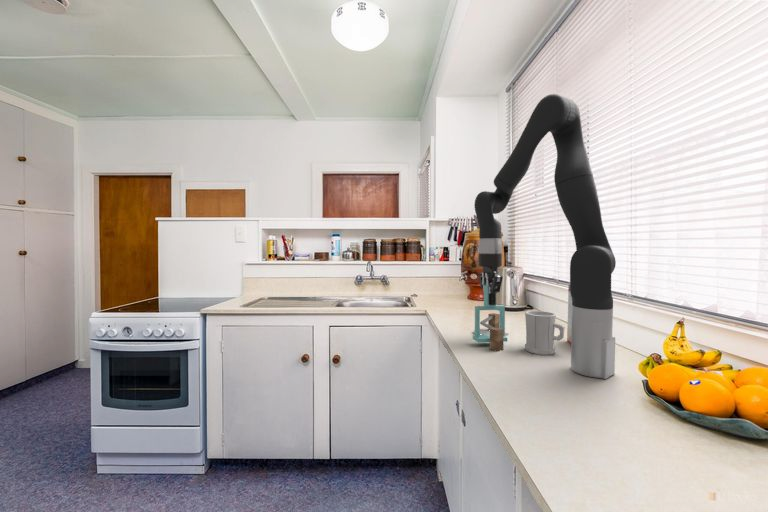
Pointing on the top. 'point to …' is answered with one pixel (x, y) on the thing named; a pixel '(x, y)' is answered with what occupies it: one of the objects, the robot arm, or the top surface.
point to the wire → (486, 321)
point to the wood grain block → (496, 333)
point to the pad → (486, 332)
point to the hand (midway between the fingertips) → (489, 303)
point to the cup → (541, 332)
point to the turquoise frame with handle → (486, 306)
